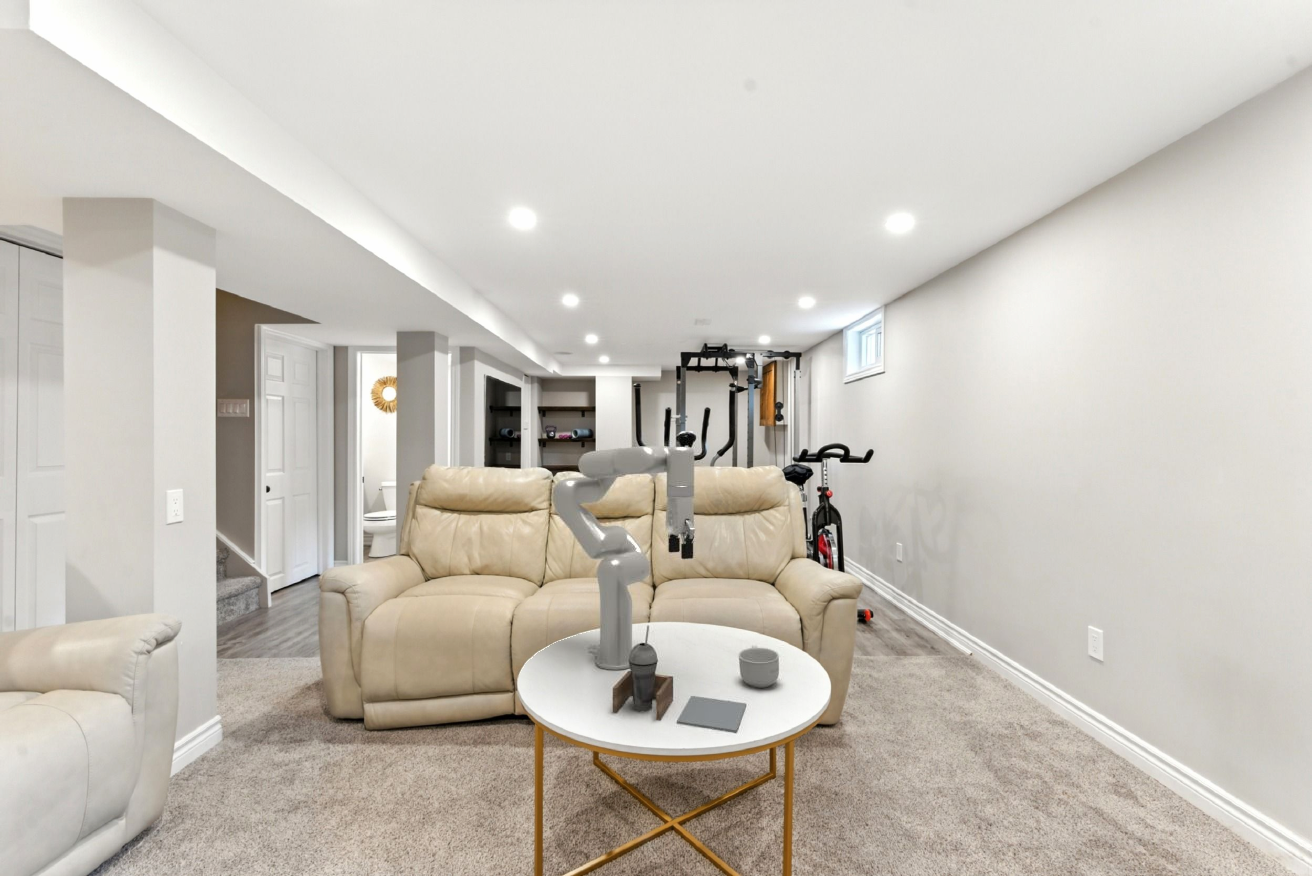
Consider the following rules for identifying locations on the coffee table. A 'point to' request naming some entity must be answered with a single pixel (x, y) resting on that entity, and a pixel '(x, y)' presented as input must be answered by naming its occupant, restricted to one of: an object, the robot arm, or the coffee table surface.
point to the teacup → (759, 666)
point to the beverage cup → (643, 674)
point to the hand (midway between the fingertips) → (680, 555)
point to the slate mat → (712, 713)
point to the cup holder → (661, 694)
